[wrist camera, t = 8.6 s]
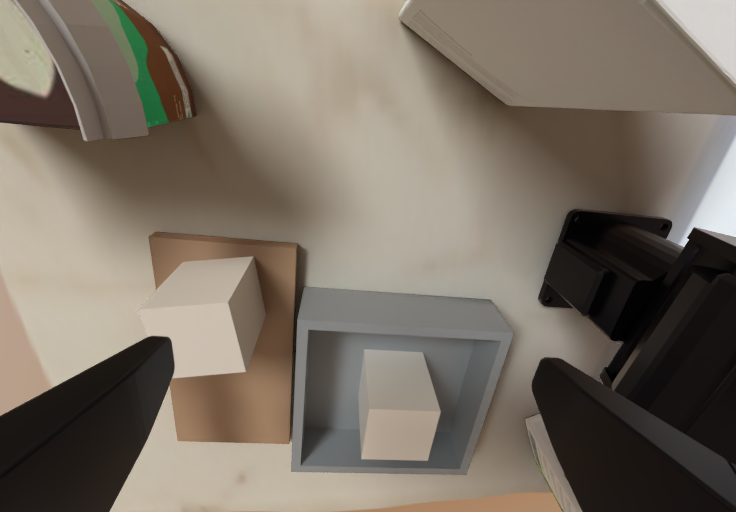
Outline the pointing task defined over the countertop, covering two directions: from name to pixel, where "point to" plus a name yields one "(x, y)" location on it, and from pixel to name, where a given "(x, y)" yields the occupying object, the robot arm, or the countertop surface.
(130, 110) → the food container
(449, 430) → the bin
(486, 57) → the supplement box
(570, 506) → the syrup box
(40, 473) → the robot arm
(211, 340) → the cream white block
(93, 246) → the countertop surface
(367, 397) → the stone
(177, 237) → the brown rectangular board
